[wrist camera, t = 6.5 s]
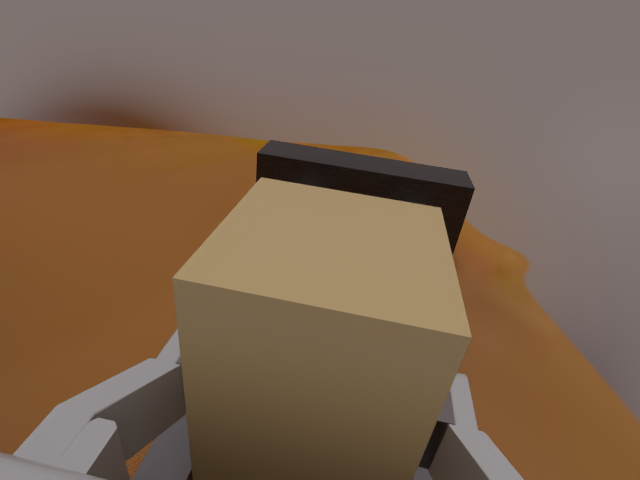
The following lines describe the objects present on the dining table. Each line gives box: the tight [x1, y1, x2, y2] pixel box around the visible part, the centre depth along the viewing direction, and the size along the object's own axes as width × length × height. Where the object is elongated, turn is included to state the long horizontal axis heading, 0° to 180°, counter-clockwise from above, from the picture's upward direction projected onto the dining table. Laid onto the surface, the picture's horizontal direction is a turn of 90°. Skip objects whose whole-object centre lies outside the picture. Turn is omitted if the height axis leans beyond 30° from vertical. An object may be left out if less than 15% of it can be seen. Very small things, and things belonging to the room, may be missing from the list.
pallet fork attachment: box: [132, 140, 475, 480], centre depth 17 cm, size 13×24×6 cm, turn 170°
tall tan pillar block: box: [173, 177, 472, 480], centre depth 10 cm, size 4×4×10 cm
